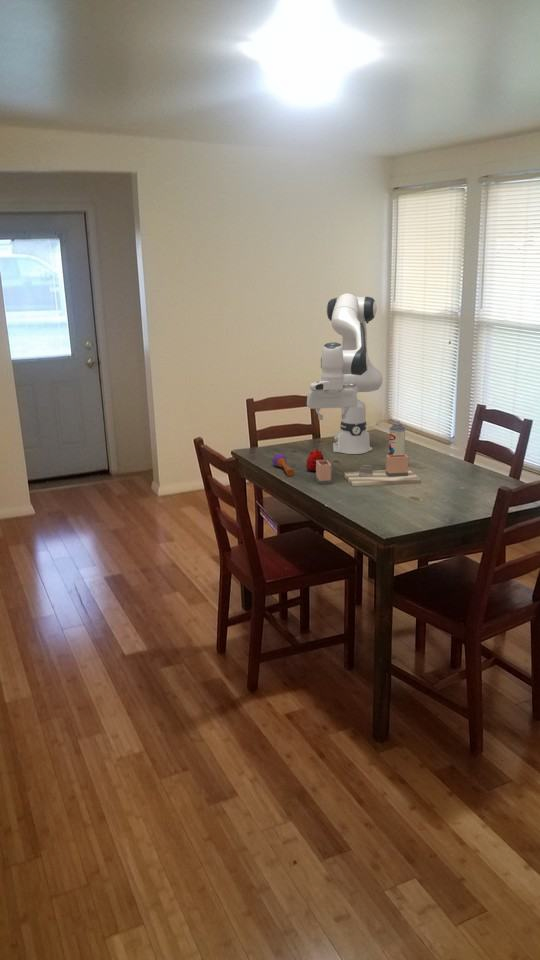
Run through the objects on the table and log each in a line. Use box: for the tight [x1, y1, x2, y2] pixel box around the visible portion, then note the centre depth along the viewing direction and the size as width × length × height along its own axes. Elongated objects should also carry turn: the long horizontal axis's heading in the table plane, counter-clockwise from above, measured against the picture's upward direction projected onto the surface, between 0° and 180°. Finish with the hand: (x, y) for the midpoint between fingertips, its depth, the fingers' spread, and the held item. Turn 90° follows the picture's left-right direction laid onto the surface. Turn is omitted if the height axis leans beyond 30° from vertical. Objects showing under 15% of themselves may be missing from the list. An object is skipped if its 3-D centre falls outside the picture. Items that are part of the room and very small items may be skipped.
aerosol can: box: [388, 420, 406, 455], centre depth 320 cm, size 7×7×20 cm
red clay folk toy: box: [306, 438, 325, 472], centre depth 316 cm, size 8×7×15 cm
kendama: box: [272, 452, 295, 477], centre depth 318 cm, size 6×6×20 cm
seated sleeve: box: [385, 453, 410, 477], centre depth 303 cm, size 8×5×8 cm, turn 97°
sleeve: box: [315, 459, 332, 485], centre depth 300 cm, size 8×5×8 cm, turn 7°
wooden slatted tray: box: [343, 464, 422, 487], centre depth 303 cm, size 16×28×6 cm, turn 97°
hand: (332, 418), depth 297 cm, fingers open, 8 cm apart
